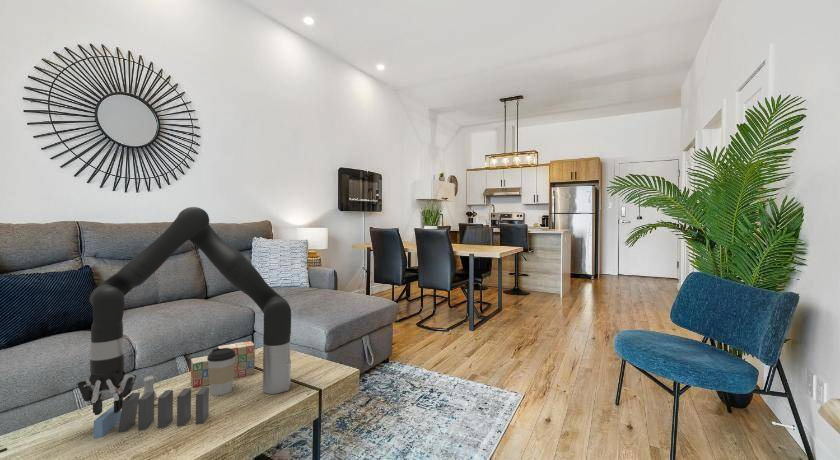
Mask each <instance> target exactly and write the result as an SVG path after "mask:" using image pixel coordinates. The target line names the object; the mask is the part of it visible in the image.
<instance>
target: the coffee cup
mask: <svg viewBox="0 0 840 460" xmlns="http://www.w3.org/2000/svg"><path fill="white" fill-rule="evenodd" d="M207 356H208V358H207V360H208V373H209V383H210V384H209V392H210V393H209V394H210V395H211V396H213V397H217V396H224V395H226V394H229V393H230V392H232V390H233V382H234V379H233V378H234V368H235V356H236V354H235V351H233V350H232V349H231V348H221V349H219V348H218V347H217V348H214V349H212V350H211V352H210V354H208V355H207Z"/></svg>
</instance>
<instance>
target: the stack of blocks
mask: <svg viewBox="0 0 840 460" xmlns="http://www.w3.org/2000/svg"><path fill="white" fill-rule="evenodd" d="M217 348H219V349H221V348H231V349H232V350H233V351H235V354H236V356H235V368H234V378H233V380H234V379H240V377H241V378H245V377H249V376H254V375H255V362H256V361H255V359H256V356H255V355H256V352H255V351H256V350H255V344H254V342H253V341H251V340H249V341H241V342H236V343H230V344H224V345H219V346H217ZM207 358H208V355H205V356H201V357H195V358H194V357H193V358H190V384H191V387H192V389H194V388H198V387H205V386H207V385H208V386H210V383H209V373H208V360H207Z"/></svg>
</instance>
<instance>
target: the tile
mask: <svg viewBox="0 0 840 460" xmlns="http://www.w3.org/2000/svg"><path fill="white" fill-rule="evenodd" d="M121 410H122V409H121ZM121 410H120V411H119V412H118V413H114V404H113V405H112V406H111V407H109V408H108V409H107V410H105V412H103V413H101V415H98V417H97V418H96V419H94V420H93V439H99V438H100V439H101V438H103V437H104V436H106V435H107V434H108V432H110V431H112V429H113V428H114V427H116V426H117V425H119V424H118V423H120V416H121Z"/></svg>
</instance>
